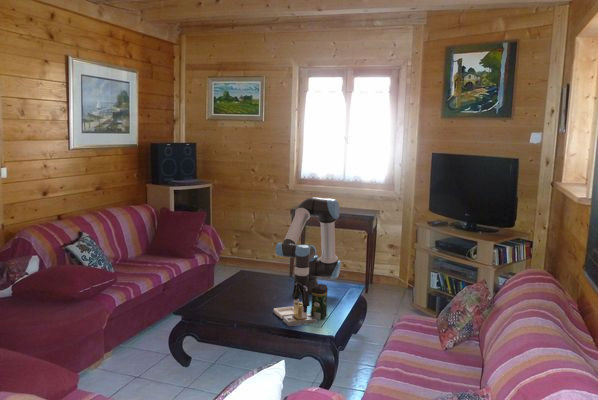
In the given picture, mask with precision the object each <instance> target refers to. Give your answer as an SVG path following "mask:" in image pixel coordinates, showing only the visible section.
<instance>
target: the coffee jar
mask: <svg viewBox="0 0 598 400" xmlns="http://www.w3.org/2000/svg"><path fill="white" fill-rule="evenodd" d="M327 308H328V286H327V285H326V284H323V283H318V285H316V286H314V287H312V294H311V309H310V314H311V315H312V316H314V317H315V318H316V321H322V320H323V321H324V319H326V318H327V316H328V315H327V314H328V309H327Z"/></svg>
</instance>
